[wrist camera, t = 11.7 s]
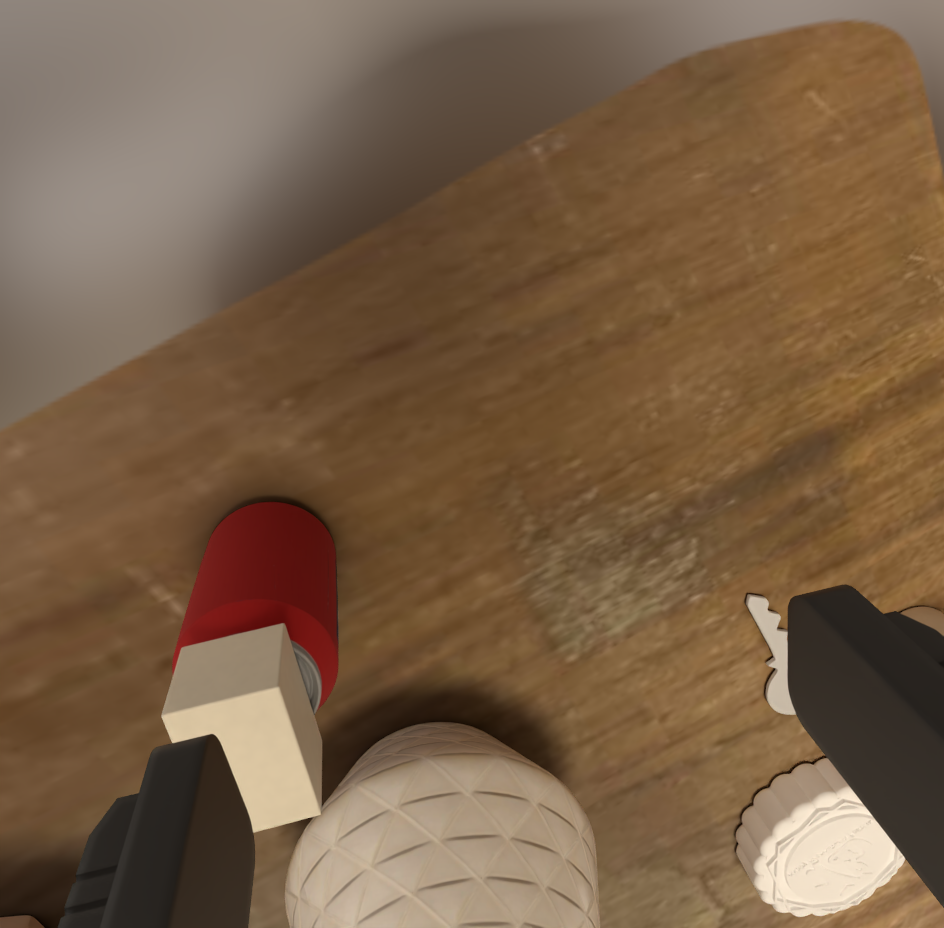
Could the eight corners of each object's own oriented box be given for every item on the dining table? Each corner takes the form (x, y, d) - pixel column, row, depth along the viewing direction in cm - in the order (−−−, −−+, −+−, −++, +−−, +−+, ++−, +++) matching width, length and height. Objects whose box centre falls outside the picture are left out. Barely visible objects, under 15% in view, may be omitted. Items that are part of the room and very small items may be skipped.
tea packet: (180, 646, 30) (159, 716, 26) (284, 621, 30) (279, 686, 27) (226, 765, 32) (213, 843, 29) (322, 740, 33) (322, 815, 29)
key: (847, 688, 52) (781, 726, 53) (844, 685, 53) (779, 723, 53) (790, 572, 48) (719, 614, 48) (788, 570, 48) (717, 612, 49)
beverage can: (252, 626, 44) (226, 787, 33) (181, 532, 41) (127, 674, 30) (359, 570, 44) (369, 713, 33) (295, 472, 41) (282, 592, 30)
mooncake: (777, 906, 60) (803, 950, 57) (704, 822, 56) (728, 865, 52) (911, 819, 59) (945, 858, 56) (848, 726, 54) (881, 763, 51)
